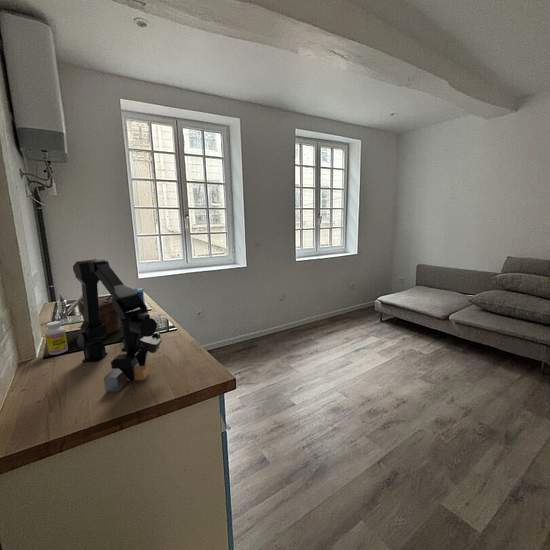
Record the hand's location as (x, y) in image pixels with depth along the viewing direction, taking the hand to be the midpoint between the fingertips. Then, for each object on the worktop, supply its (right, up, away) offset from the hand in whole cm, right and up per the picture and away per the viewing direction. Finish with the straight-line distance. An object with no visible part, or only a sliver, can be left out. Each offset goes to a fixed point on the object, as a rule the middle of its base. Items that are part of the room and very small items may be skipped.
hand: (137, 374), depth 96 cm
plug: (-2, -1, 0) cm, 3 cm away
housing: (-4, -1, 0) cm, 5 cm away
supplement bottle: (-45, +1, +24) cm, 51 cm away
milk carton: (-21, +6, +46) cm, 51 cm away
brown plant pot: (-39, +5, +47) cm, 61 cm away
